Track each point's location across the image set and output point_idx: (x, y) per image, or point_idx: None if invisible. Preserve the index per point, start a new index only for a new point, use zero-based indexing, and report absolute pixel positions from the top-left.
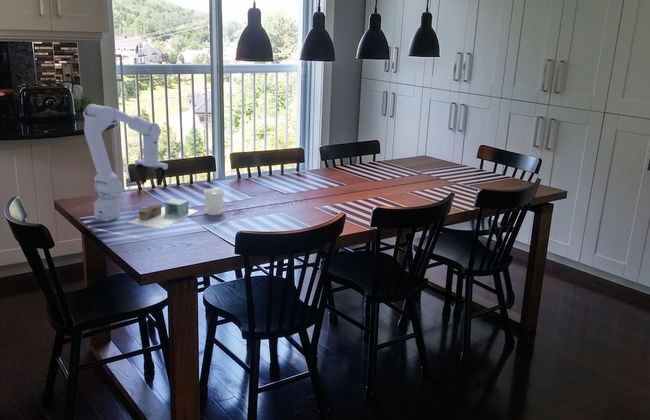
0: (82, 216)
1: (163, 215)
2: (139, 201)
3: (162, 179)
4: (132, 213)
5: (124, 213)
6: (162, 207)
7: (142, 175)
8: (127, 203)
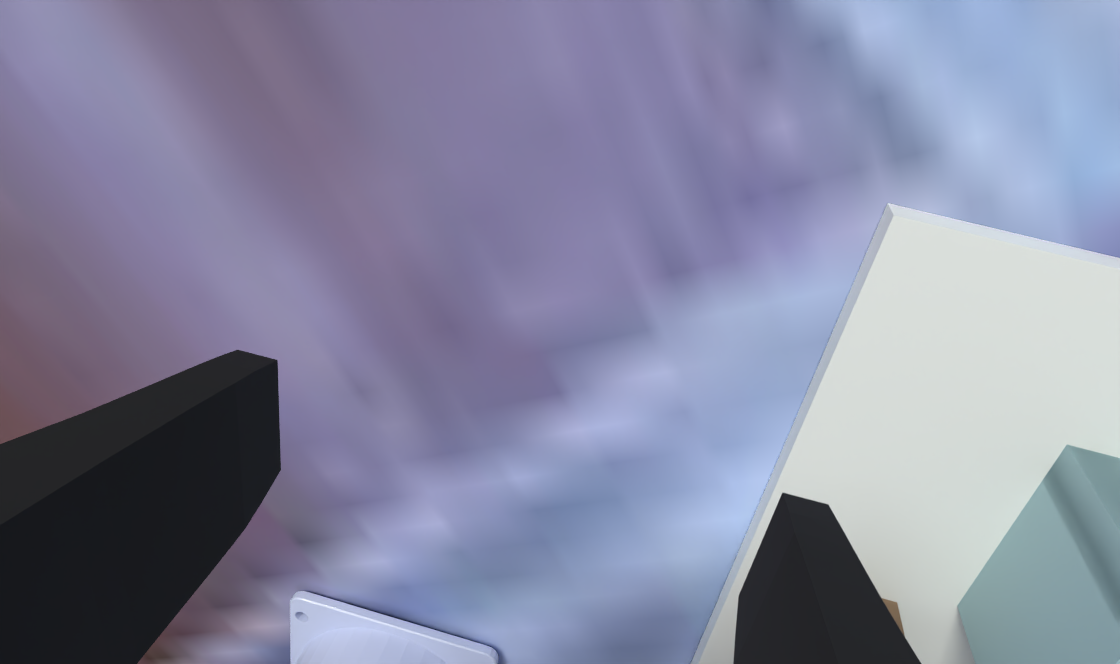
0: (160, 658)
1: (946, 650)
2: (281, 22)
3: (895, 651)
4: (508, 546)
5: (428, 556)
6: (833, 356)
7: (118, 644)
8: (202, 189)
